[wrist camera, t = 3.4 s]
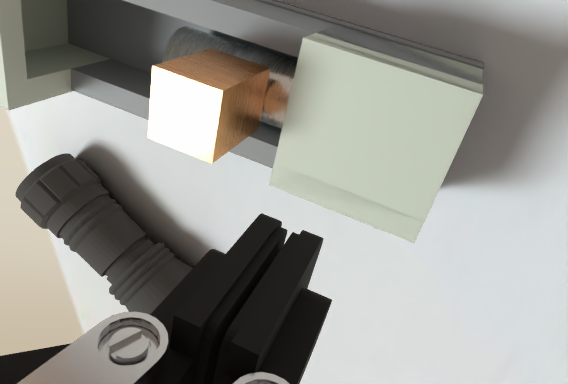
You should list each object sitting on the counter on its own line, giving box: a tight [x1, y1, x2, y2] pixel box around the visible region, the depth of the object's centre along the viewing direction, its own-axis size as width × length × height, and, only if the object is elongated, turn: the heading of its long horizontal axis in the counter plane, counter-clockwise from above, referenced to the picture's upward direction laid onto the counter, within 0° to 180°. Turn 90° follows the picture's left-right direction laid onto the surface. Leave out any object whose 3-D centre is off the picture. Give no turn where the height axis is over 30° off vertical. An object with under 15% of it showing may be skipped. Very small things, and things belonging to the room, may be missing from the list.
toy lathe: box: [0, 0, 484, 243], centre depth 22 cm, size 24×7×8 cm, turn 77°
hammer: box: [148, 26, 297, 163], centre depth 20 cm, size 14×3×8 cm, turn 77°
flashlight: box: [16, 154, 193, 315], centre depth 32 cm, size 15×5×5 cm, turn 50°
